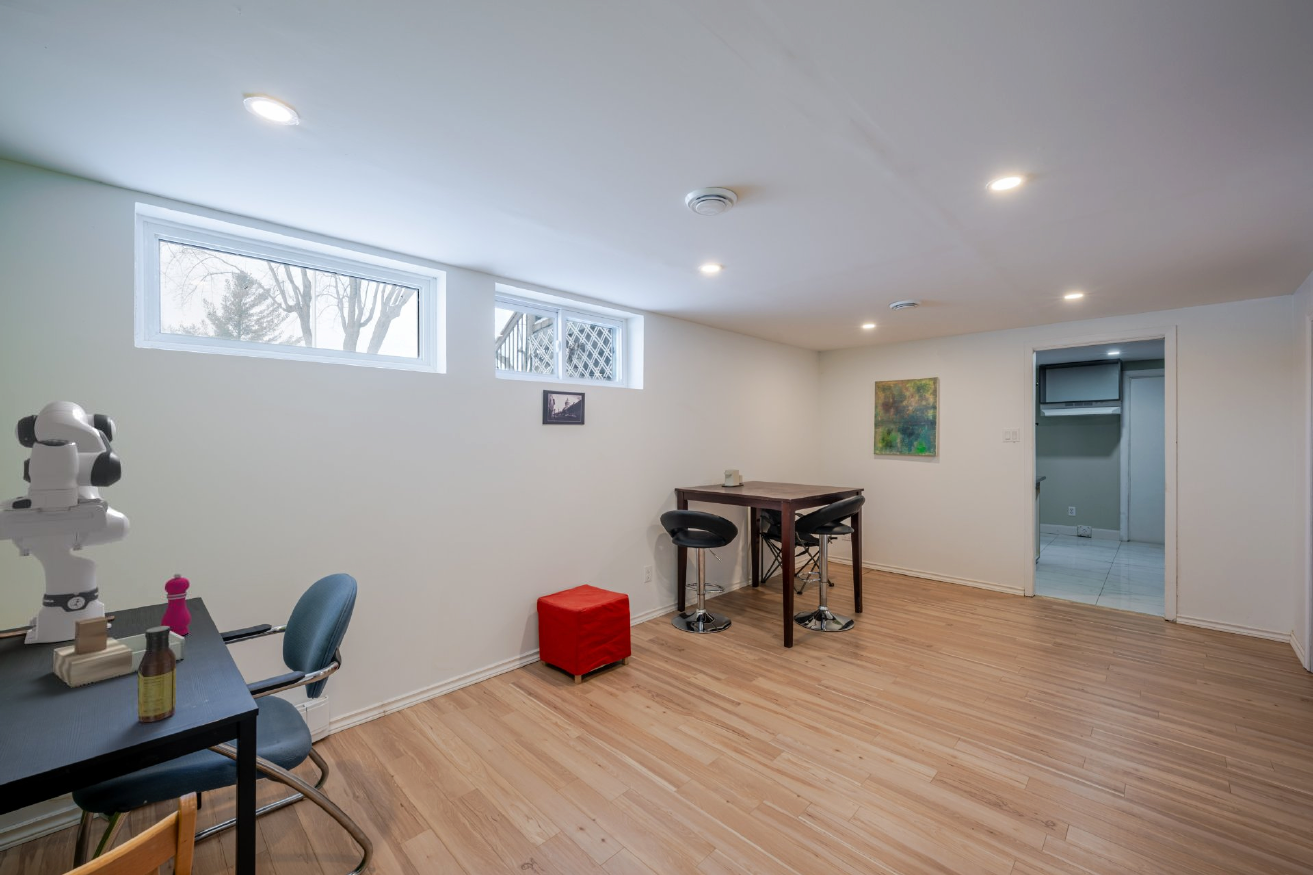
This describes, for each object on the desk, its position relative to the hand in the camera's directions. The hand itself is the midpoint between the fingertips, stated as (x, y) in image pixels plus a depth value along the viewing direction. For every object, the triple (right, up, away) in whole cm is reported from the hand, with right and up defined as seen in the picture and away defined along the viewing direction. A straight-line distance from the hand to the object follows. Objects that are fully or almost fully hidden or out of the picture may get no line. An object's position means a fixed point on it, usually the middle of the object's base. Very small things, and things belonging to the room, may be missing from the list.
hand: (51, 553), depth 140 cm
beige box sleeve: (+9, -32, +2) cm, 34 cm away
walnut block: (+8, -26, +2) cm, 28 cm away
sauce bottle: (+48, -32, -22) cm, 62 cm away
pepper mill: (+5, -33, +31) cm, 46 cm away
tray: (+14, -33, +11) cm, 38 cm away
